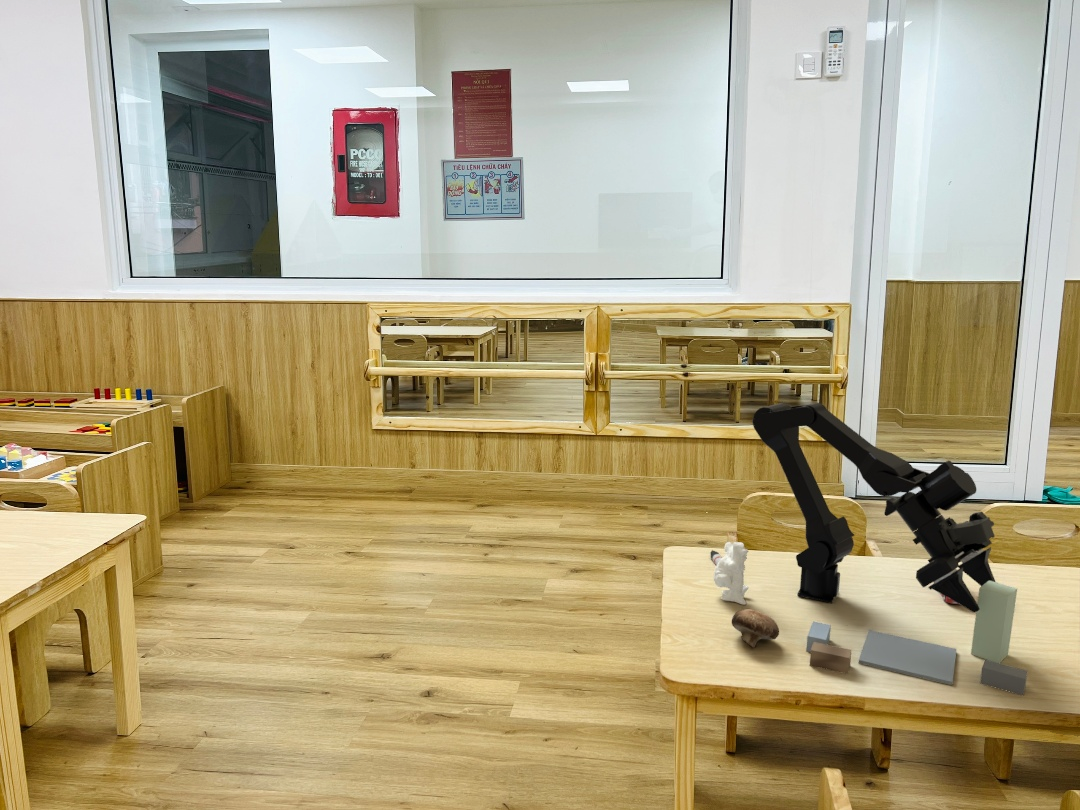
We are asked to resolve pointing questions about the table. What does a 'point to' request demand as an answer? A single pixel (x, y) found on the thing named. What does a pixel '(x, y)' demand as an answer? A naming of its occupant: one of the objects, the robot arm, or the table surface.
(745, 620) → the mushroom
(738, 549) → the white toy figurine
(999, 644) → the sage brick
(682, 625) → the table surface
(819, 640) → the dusty blue brick
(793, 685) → the table surface
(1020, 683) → the charcoal brick
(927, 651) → the slate mat
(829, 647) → the walnut brick
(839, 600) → the table surface
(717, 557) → the marker
